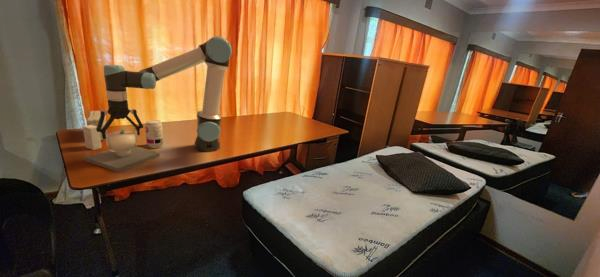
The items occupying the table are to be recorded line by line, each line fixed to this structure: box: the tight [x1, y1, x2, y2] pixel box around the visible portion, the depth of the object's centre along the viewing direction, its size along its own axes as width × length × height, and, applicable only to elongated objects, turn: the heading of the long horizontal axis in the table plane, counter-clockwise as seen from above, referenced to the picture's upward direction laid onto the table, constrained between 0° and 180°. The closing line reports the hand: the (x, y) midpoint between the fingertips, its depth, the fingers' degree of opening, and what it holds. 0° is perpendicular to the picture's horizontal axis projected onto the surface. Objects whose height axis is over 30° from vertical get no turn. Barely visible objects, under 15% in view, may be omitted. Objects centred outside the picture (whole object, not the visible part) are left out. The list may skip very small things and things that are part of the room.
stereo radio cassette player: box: [86, 106, 108, 141], centre depth 140 cm, size 21×8×20 cm, turn 35°
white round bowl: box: [108, 129, 137, 150], centre depth 118 cm, size 11×11×7 cm
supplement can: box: [144, 119, 164, 149], centre depth 137 cm, size 8×8×15 cm
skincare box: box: [82, 124, 102, 151], centre depth 126 cm, size 6×4×12 cm
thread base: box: [83, 145, 161, 173], centre depth 120 cm, size 22×22×7 cm
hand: (122, 143), depth 118 cm, fingers closed on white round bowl, 11 cm apart
